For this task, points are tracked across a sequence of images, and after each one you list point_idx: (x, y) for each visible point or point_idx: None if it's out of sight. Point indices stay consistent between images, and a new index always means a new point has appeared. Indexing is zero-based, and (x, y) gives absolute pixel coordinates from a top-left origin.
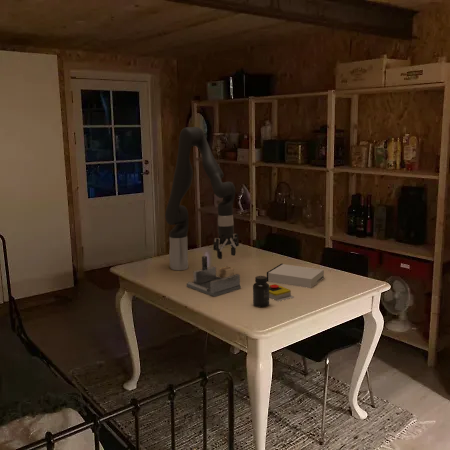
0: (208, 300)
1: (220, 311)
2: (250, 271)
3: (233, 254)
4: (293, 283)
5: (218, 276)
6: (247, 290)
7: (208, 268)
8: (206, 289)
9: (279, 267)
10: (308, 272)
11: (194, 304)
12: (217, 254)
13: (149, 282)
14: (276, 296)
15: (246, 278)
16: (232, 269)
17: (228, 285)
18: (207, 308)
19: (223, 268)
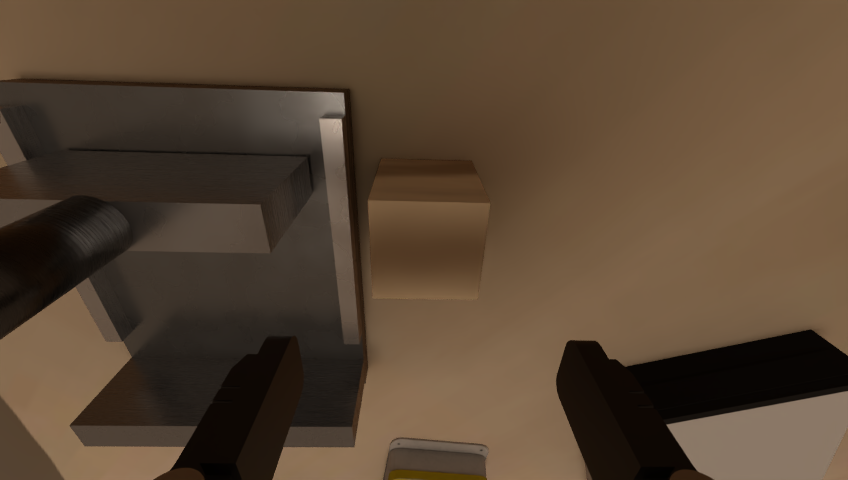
0: (104, 377)
1: (110, 471)
2: (744, 173)
3: (563, 392)
4: (590, 477)
5: (343, 196)
6: (376, 399)
7: (154, 239)
8: (107, 334)
9: (761, 412)
10: None
11: (4, 372)
12: (210, 411)
13: None
14: None
15: (553, 271)
16: (457, 295)
17: None
18: (62, 431)
19: (402, 232)
